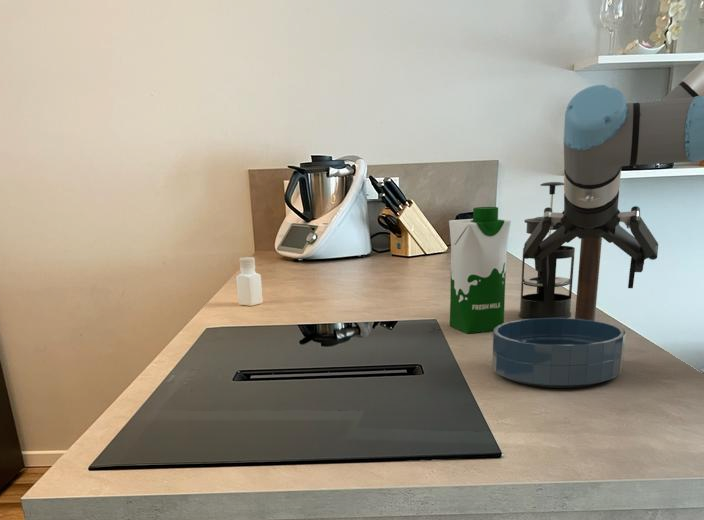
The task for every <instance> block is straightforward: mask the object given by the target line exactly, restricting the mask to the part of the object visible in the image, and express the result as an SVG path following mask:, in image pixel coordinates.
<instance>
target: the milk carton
mask: <svg viewBox="0 0 704 520" xmlns="http://www.w3.org/2000/svg"><path fill="white" fill-rule="evenodd" d="M511 222H512V221H511V220H509V219H505V218H503V219H502V218H499V207H498V206H477V207H473V209H472V218H467V219H452V220H451V219H450V220H448V226H449V236H450V294H449V295H450V296H449V297H450V299H449V327H451V328H454V329H455V330H458V331H460V332H463V333H465V334H476V333H485V332H494V328H496V327H497V326H498V325H501V324H503V323H505V305H506V303H505V301H506V300H505V299H506V278H507V277H506V276H507V254H508V253H507V252H508V251H507V250H508V242H509V234H510V229H511Z"/></svg>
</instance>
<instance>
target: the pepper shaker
mask: <svg viewBox="0 0 704 520" xmlns="http://www.w3.org/2000/svg"><path fill="white" fill-rule="evenodd" d="M238 262H239V269H240V273H239V274H237V275H236V277H235V281H236V293H237V302H238V305H239V306H247V307H248V306H249V307H254V306H257V305H261V304H262V303H263V301H264V299H263V289H262V288H263V286H262V275H261V274H260V273H257V272H256V259H255V257H253V256H246V257H239V259H238Z"/></svg>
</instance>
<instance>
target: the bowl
mask: <svg viewBox="0 0 704 520" xmlns="http://www.w3.org/2000/svg"><path fill="white" fill-rule="evenodd" d="M626 334H627V333H626V331H625V329H624V328H622V327H620V326H618V325H616V324H613V323H610V322H605V321H600V320H596V319H595V320H588V319H578V318H575V317H569V318H531V319H524V318H522V319H516V320H512V321H507V322H504V323H503V324H501V325H498V326H497V327H496V328H494V331H493V334H492V335H493V336H492V337H493V338H492V341H493V342H492V363H491V369H492V371H493V372H495V374H497V375H499V376H501V377H503V378H505V379H509V380H510V381H513V382H516V383H518V384H522V385H527V386H531V387H532V386H533V387H539V388H551V389H571V388H572V389H573V388H582V387H583V388H584V387H588V386H589V387H590V386H595V385H597V384H600V383H603V382H605V381H606V382H607V381H611V380H613V379H614V378H616V377H619V376H620V374H621V373H622V372H623V364H624V363H623V362H624V352H625V344H626V343H625V342H626Z"/></svg>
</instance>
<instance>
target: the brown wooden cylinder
mask: <svg viewBox="0 0 704 520" xmlns="http://www.w3.org/2000/svg"><path fill="white" fill-rule="evenodd" d="M602 243H603V238H602V237H600V239H594V238H585V239H580V246H579V247H580V248H579V261H578V262H579V263H578V274H577V287H576V300H575V302H576V303H575V313H574V318H578V319H588V320H595V321H596V310H597V300H598V287H599V279H600V278H599V276H600V267H601V266H600V264H601V253H602Z"/></svg>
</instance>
